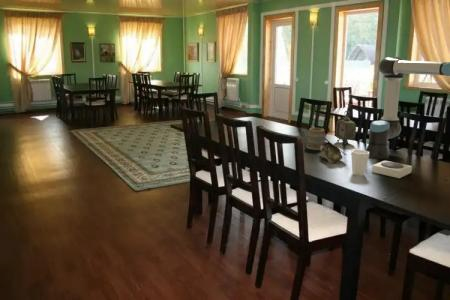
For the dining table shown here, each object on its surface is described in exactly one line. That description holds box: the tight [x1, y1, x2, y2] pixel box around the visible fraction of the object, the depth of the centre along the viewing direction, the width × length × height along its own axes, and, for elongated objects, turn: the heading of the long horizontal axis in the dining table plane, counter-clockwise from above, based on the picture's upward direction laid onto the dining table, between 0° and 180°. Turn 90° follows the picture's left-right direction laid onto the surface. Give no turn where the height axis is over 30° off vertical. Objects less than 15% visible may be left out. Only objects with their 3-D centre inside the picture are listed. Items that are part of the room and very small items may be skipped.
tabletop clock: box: [335, 110, 357, 146], centre depth 297 cm, size 14×9×25 cm, turn 14°
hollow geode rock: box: [319, 137, 348, 164], centre depth 253 cm, size 28×13×15 cm
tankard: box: [305, 124, 326, 151], centre depth 285 cm, size 20×13×15 cm, turn 179°
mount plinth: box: [371, 160, 413, 179], centre depth 225 cm, size 16×16×4 cm
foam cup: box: [350, 149, 369, 177], centre depth 220 cm, size 10×9×13 cm
